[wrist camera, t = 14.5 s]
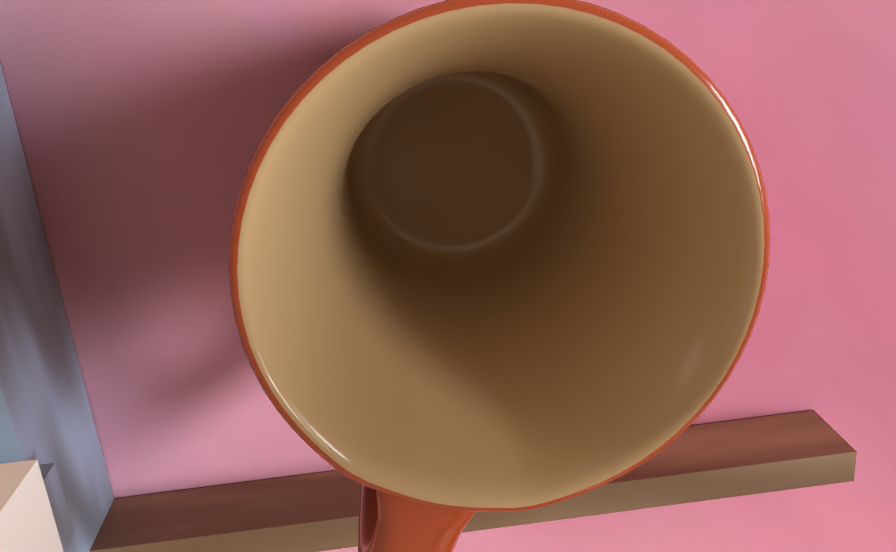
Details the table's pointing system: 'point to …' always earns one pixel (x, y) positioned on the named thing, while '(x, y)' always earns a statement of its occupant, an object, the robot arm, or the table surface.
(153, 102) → the table surface
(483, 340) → the mug
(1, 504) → the robot arm
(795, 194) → the table surface
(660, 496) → the bar
